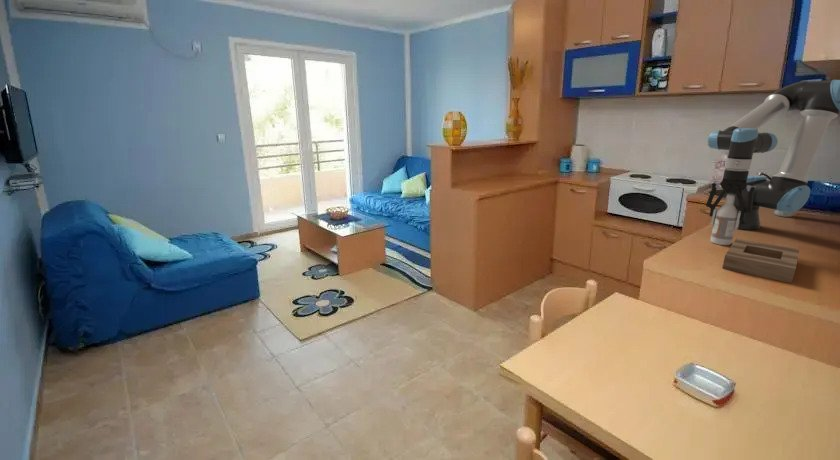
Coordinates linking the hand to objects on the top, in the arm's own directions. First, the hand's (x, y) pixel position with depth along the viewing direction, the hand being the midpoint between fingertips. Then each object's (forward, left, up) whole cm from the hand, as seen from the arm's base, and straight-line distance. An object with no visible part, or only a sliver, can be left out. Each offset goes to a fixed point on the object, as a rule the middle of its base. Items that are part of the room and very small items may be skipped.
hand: (724, 226), depth 162 cm
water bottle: (-67, -29, -7) cm, 73 cm away
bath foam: (0, 0, -7) cm, 7 cm away
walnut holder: (+8, +23, -7) cm, 25 cm away
